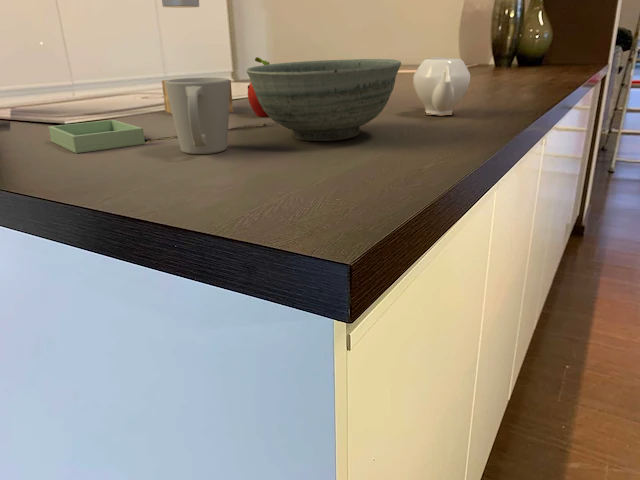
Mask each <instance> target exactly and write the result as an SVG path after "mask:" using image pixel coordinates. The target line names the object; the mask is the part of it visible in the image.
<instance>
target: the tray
mask: <svg viewBox="0 0 640 480" xmlns="http://www.w3.org/2000/svg"><path fill="white" fill-rule="evenodd" d="M48 132H49V136H50V141H51V143H53V144H56V145H58V146H60V147H62V148H64V149H66V150H69V151H70V152H73V153H74V154H81V153H89V152H96V151H103V150H109V149H118V148H124V147H132V146H138V145H146V140H145V132H144V128H143V127H140V126H137V125H134V124H129V123H126V122H122V121H119V120H115V119H106V120H95V121H86V122H78V123H68V124H59V125H50V126H49V125H48Z"/></svg>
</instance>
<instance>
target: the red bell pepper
mask: <svg viewBox="0 0 640 480" xmlns="http://www.w3.org/2000/svg"><path fill="white" fill-rule="evenodd" d="M254 61H255V62H257V63H260V64H262V65H269V64H270V62H269V61H267V60H263V59H262V58H261V57H259V56H258V57H257V56H256V57H255V59H254ZM247 99H248V103H249V105H250V107H251V109H252V110H253V112H254V114H255V115H256V116H257V117H258V118H270V117H269V116H268V115H267V113H266V112H265V111H264V110H263V108H262V106H261V105H260V103H259V101H258V99H257V96H256V94H255V91H254V88H253V86H252V83H251V82H250V83H249V84H248V85H247Z"/></svg>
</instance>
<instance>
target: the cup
mask: <svg viewBox="0 0 640 480" xmlns="http://www.w3.org/2000/svg"><path fill="white" fill-rule="evenodd" d="M166 80H167V81H166V82H165V83H166V88H167V93H168V97H169V102H170V107H171V111H172V113H171V116H172V120H173V125H174V128H175V131H176V136H177V139H178V142H179V143H178V144H179V148H180V151H181V152H183V153H184V154H187V155H213V154H218V153H222V152H224V151H225V150H226V149H228V136H229V122H230V119H229V118H230V112H229V92H230V80H231V79H229V78H227V77H209V76H208V77H207V76H206V77H184V78H174V79H173V78H172V79H166Z"/></svg>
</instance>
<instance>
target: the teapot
mask: <svg viewBox="0 0 640 480" xmlns="http://www.w3.org/2000/svg"><path fill="white" fill-rule="evenodd" d="M412 77H413V78H412V82H413V83H412V84H413V89H414V93H415V94H416V96H417V98H418V100H419V101H420V102H421V103H422V105H423V107H424V109H425V110H424V113H425V112H426V113H431V114H445V113H451V112H453V111H454V109H455V107H457V105H458V104H460V102H461V101H462V100H463V99H464V98H465V96H466V94H467V92H468V90H469V88H470V85H471V80H472V79H471V78H472V77H471V73H470V71H469V69H468V66H467V65H466V63H465V62H464V60H463V59H461V58H458V57H443V56H432V57H431V58H429V57H428V58H424V59H423V60H422V62H421V63H420V64H419V66H418V68H417V69H416V70H415V72H414V74H413V76H412ZM453 113H454V112H453Z"/></svg>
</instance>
